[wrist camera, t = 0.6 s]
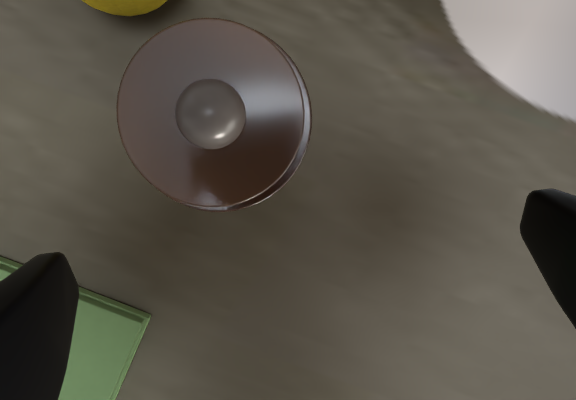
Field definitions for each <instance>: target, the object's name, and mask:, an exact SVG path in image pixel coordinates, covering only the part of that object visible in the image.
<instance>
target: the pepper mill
mask: <svg viewBox="0 0 576 400" xmlns="http://www.w3.org/2000/svg"><path fill="white" fill-rule="evenodd" d="M117 123H118V129H119V133H120V137H121V140H122V144H123V146H124V148H125V150H126V153H127V155H128V156H129V158H130V160H131V161H132V163H133V165H134V166H135V167H136V169H137V170H138V171H139V172H140V174H141V175H142V176H143V177H144V178H145V179H146V180H147V181H148V182H149V183H150V184H151V185H153V186H154V187H155V188H156V189H158V190H159V191H160V192H162V193H163V194H164V195H166V196H167V197H169V198H171V199H172V200H174V201H176V202H178V203H180V204H183V205H185V206H188V207H191V208H195V209H198V210H203V211H211V212H227V211H236V210H240V209H244V208H248V207H250V206H253V205H255V204H258V203H260V202H262V201H264V200H265V199H267V198H269V197H271V196H272V195H273V194H275V193H276V192H277V191H279V190H280V189H281V188H282V187H283V186H284V185H285V184H286V183H287V182H288V181H289V180H290V178H291V177H292V176H293V175H294V173H295V172H296V170H297V169H298V167H299V165H300V164H301V162H302V160H303V157H304V155H305V153H306V150H307V147H308V143H309V140H310V134H311V127H312V112H311V102H310V98H309V94H308V90H307V87H306V85H305V82H304V79H303V77H302V75H301V73H300V72H299V70H298V68H297V66H296V65H295V63H294V62H293V61H292V59H291V58H290V57H289V56H288V54H287V53H286V52H285V51H284V50H283V49H282V48H281V47H280V46H279V45H277V44H276V43H275V42H274V41H273V40H271V39H270V38H268V37H267V36H265V35H264V34H262V33H260V32H258V31H256V30H254V29H252V28H250V27H247V26H245V25H243V24H240V23H237V22H233V21H230V20H224V19H219V18H199V19H191V20H187V21H183V22H179V23H177V24H174V25H172V26H169V27H167V28H165V29H164V30H162V31H160V32H158V33H157V34H156V35H154V36H153V37H152V38H150V39H149V40H148V41H147V42H146V43H145V44H144V45H143V46H142V47H141V48H140V49H139V50H138V51H137V53H136V54H135V55H134V57H133V58H132V59H131V61H130V63H129V65H128V66H127V68H126V70H125V72H124V75H123V78H122V80H121V83H120V87H119V91H118V98H117Z"/></svg>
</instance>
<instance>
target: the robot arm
mask: <svg viewBox="0 0 576 400" xmlns="http://www.w3.org/2000/svg"><path fill="white" fill-rule="evenodd" d="M520 233H521V236H522V238H523V240H524V242H525V244H526V246H527V248H528V249H529V251H530V253H531V255H532V257H533V259H534V260H535V262H536V264H537V266H538V268H539V270H540V272H541V273H542V275H543V277H544V279H545V281H546V283H547V284H548V286H549V288H550V290H551V292H552V293H553V295H554V297H555V298H556V300H557V302H558V303H559V305H560V306H561V308H562V309H563V311H564V312H565V314H566V315H567V317H568V318H569V320H570V321H571V322H572V324H573V325H574V327H575V328H576V196H574V195H571V194H568V193H565V192H562V191H559V190H556V189H543V190H536V191H532V192H531V193H529V195H528V196H527V199H526V203H525V207H524V211H523V215H522V219H521V223H520ZM78 300H79V287H78V284H77V281H76V279H75V277H74V274H73V272H72V270H71V268H70V265H69V263H68V261H67V259H66V257H65V256H64V255H63V254H62V253H60V252H54V253H46V254H40V255H37V256H35V257H34V258H32V259H31V260H30V261H28V262H27V263H25V264H24V265H23V266H21V267H20V268H18V269H17V270H16V271H14V272H13V273H11V274H10V275H9V276H7V277H6V278H4V279H3V280H2V281H0V400H58V398H59V395H60V391H61V388H62V384H63V381H64V377H65V373H66V369H67V364H68V359H69V354H70V348H71V342H72V336H73V330H74V324H75V318H76V312H77V306H78Z"/></svg>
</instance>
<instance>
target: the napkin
mask: <svg viewBox="0 0 576 400" xmlns="http://www.w3.org/2000/svg"><path fill="white" fill-rule="evenodd" d="M21 266H23V265H22V264H19V263H16V262H14V261H11V260H9V259H6V258H4V257H1V256H0V281H2V280H3V279H4V278H6V277H7V276H9V275H10V274H11V273H13V272H14V271H16V270H17V269H18V268H20V267H21ZM150 318H151V314H148V313H146V312H143V311H140V310H138V309H135V308H133V307H130V306H127V305H125V304H122V303H120V302H117V301H115V300H112V299H109V298H107V297H104V296H102V295H99V294H96V293H94V292H91V291H89V290H86V289H84V288H81V287H79V300H78V306H77V312H76V318H75V324H74V330H73V336H72V342H71V348H70V354H69V359H68V364H67V369H66V373H65V377H64V381H63V384H62V388H61V391H60V395H59V398H58V400H115V399H116V397H117V395H118V392H119V390H120V388H121V385H122V383H123V381H124V378H125V376H126V374H127V371H128V369H129V367H130V364H131V362H132V360H133V357H134V355H135V353H136V350H137V348H138V346H139V343H140V341H141V339H142V336H143V334H144V332H145V329H146V327H147V325H148V322H149V320H150Z"/></svg>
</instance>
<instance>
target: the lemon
mask: <svg viewBox="0 0 576 400" xmlns="http://www.w3.org/2000/svg"><path fill="white" fill-rule="evenodd" d="M82 1H83V2H85V3H86V4H88V5H89V6H91V7H93V8H95V9H98V10H101V11H104V12H107V13H109V14H113V15H122V16H135V15H141V14H146V13H148V12H150V11H153V10H155V9H157V8H159V7H160V6H161V5H162V4H164V3H165V2H166V1H167V0H82Z"/></svg>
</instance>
